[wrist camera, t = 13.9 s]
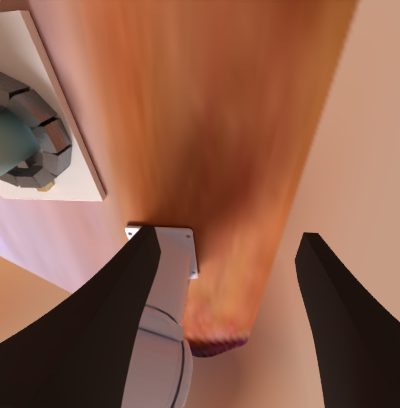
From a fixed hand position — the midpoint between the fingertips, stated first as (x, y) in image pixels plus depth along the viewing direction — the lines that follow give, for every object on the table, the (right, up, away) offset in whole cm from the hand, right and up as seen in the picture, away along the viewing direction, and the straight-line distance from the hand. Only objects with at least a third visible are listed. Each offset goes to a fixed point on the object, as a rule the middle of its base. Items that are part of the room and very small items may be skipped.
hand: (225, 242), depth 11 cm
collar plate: (-18, +9, +9) cm, 22 cm away
